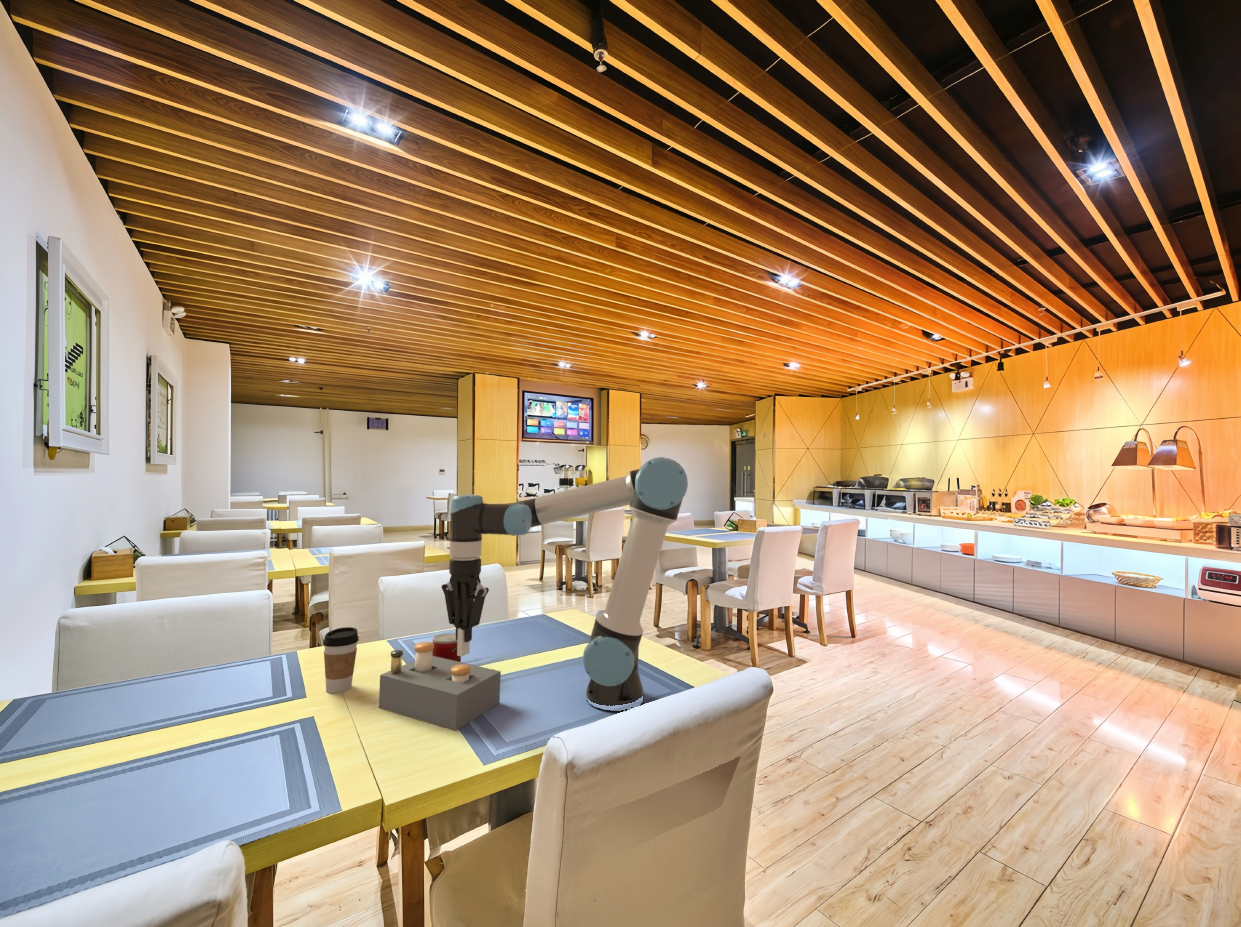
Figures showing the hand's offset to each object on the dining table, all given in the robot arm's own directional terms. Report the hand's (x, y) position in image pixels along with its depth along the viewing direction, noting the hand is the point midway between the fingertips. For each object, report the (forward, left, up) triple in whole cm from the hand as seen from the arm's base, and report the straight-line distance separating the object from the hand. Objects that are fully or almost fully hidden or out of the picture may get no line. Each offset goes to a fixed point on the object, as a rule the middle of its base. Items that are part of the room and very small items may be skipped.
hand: (463, 654), depth 126 cm
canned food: (+18, -15, -14) cm, 28 cm away
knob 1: (+12, 0, -8) cm, 15 cm away
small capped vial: (+16, +5, -6) cm, 18 cm away
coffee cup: (+36, +5, -14) cm, 39 cm away
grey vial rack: (+6, 0, -14) cm, 15 cm away
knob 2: (0, 0, -11) cm, 11 cm away
